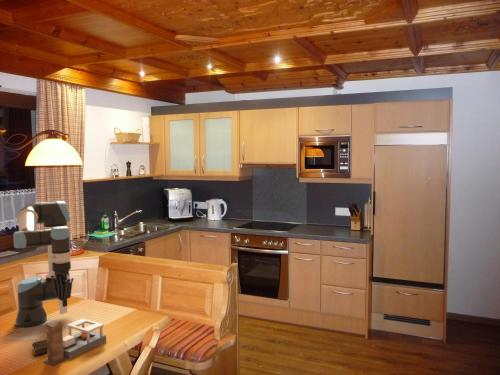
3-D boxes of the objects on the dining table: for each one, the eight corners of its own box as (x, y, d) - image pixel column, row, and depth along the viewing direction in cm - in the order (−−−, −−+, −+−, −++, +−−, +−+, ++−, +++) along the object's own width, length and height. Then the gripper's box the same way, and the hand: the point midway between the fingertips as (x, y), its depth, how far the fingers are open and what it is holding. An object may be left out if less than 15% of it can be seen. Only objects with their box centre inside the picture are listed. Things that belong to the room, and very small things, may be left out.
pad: (43, 361, 180) (43, 361, 180) (57, 355, 186) (57, 354, 186) (53, 365, 176) (53, 364, 176) (68, 358, 182) (68, 358, 182)
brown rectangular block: (47, 360, 180) (46, 324, 179) (57, 356, 184) (55, 321, 183) (54, 363, 178) (52, 326, 177) (63, 358, 182) (62, 322, 181)
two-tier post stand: (49, 351, 190) (48, 332, 189) (86, 334, 207) (85, 317, 206) (70, 358, 182) (69, 339, 182) (106, 341, 199) (106, 323, 199)
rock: (35, 358, 184) (34, 350, 184) (31, 349, 192) (31, 341, 192) (61, 351, 190) (61, 343, 190) (57, 343, 199) (57, 335, 199)
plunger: (80, 339, 197) (79, 331, 197) (86, 337, 200) (86, 328, 200) (85, 341, 195) (84, 333, 195) (91, 338, 199) (91, 330, 198)
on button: (59, 345, 188) (59, 339, 188) (69, 341, 192) (68, 335, 192) (65, 347, 186) (64, 341, 186) (74, 343, 190) (74, 336, 190)
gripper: (44, 261, 185) (47, 313, 187) (62, 265, 178) (65, 318, 180) (59, 257, 191) (62, 307, 193) (78, 261, 185) (80, 313, 187)
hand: (63, 313), depth 187 cm, fingers closed
